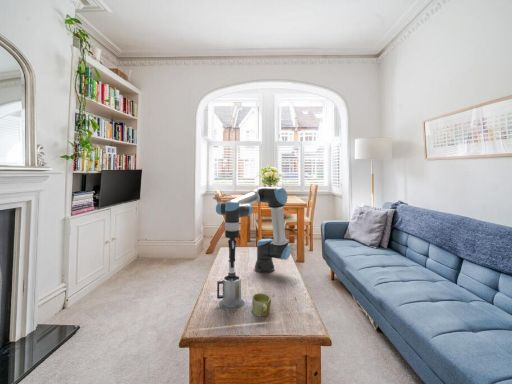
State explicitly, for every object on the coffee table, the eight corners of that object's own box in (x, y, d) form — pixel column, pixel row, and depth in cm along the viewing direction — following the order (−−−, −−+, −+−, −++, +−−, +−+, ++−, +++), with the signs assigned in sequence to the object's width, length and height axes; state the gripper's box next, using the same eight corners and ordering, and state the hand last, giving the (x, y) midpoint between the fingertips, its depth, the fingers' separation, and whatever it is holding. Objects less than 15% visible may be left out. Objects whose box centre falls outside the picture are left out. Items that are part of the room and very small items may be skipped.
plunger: (237, 294, 141) (237, 270, 140) (238, 299, 134) (238, 275, 134) (225, 295, 140) (225, 271, 139) (226, 300, 133) (226, 275, 133)
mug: (248, 303, 134) (254, 288, 132) (266, 309, 135) (272, 293, 133) (247, 320, 122) (254, 303, 120) (267, 326, 123) (274, 309, 121)
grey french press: (239, 298, 143) (239, 274, 142) (241, 306, 133) (242, 280, 133) (216, 300, 140) (216, 275, 140) (217, 308, 131) (217, 282, 130)
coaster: (242, 297, 145) (242, 296, 145) (246, 309, 132) (246, 308, 132) (218, 299, 143) (218, 298, 143) (219, 311, 129) (219, 310, 129)
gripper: (224, 227, 141) (224, 269, 142) (226, 232, 128) (225, 277, 129) (237, 227, 143) (237, 268, 144) (240, 231, 130) (240, 276, 131)
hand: (231, 272), depth 136 cm, fingers closed
